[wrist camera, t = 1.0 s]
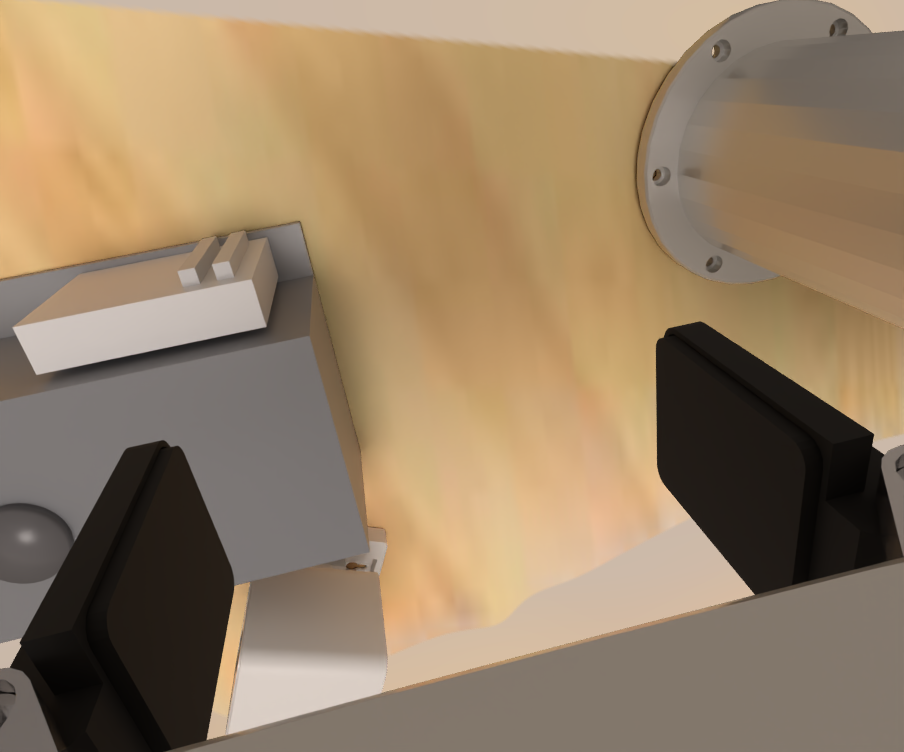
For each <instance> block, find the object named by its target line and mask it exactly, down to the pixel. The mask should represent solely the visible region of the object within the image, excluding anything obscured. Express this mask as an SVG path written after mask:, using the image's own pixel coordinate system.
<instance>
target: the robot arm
mask: <svg viewBox="0 0 904 752" xmlns="http://www.w3.org/2000/svg"><path fill="white" fill-rule="evenodd" d="M713 47H714V50H715V52H714V55H713V56H712V49H713ZM656 170H657V175H656V177H655V178H654V179H652V178H653V173H654V172H655V171H656ZM637 188H638V194H639V200H640V207H641V210H642V213H643V215H644V218H645V221H646V224H647V226H648V229H649V231H650V232H651V234H652V235H653V237H654V239H655V240H656V242H657V243H658V245H659V246H660V248H661V249H662V250H663V251H664V252H665V253H666V254H667V255H668V256H669V257H670V258H671V259H672V260H673V261H675V262H676V263H678V264H679V265H681V266H683V267H684V268H686V269H687V270H689V271H691V272H693V273H695V274H697V275H699V276H701V277H703V278H705V279H708V280H711V281H717V282H722V283H727V284H752V283H757V282H761V281H766V280H770V279H774V278H776V277H779V276H783V277H786V278H788V279H790V280H793V281H795V282H797V283H799V284H802V285H804V286H806V287H809V288H811V289H813V290H815V291H818V292H820V293H822V294H825V295H827V296H829V297H831V298H834V299H836V300H838V301H841V302H843V303H845V304H847V305H850V306H852V307H854V308H857V309H859V310H861V311H863V312H866V313H868V314H870V315H873V316H875V317H877V318H879V319H882V320H884V321H886V322H889V323H891V324H893V325H895V326H898V327H900V328H902V329H904V31H894V32H882V33H872V32H871V31H870V29H869V28H867V26H865V25H864V24H863V23H862V22H861V21H860V20H859V19H858V18H856V17H855V16H854V15H853V14H852V13H850V12H848V11H846V10H844V9H842V8H840V7H838V6H836V5H834V4H832V3H828V2H823V1H818V0H779V1H774V2H770V3H764V4H759V5H756V6H753V7H751V8H748V9H746V10H744V11H741V12H739V13H736V14H734V15H731V16H730V17H729V18H727V19H725V20H724V21H722V22H721V23H719V24H718V25H716V26H715V27H713V28H712V29H710V30H708V31H707V32H706V33H705V34H704V35H703V36H702V37H701V38H700V39H699V40H697V41H696V42H695V43H694V44H693V45H692V46H691V47H690V48H689V49H688V50H687V51H686V52H685V53H684V54H683V56H682V57H681V58H680V60H679V61H678V62H677V63H676V65H675V66H674V67H673V69H672V70H671V71H670V72H669V74H668V75H667V77H666V79H665V80H664V82H663V84H662V86H661V88H660V89H659V91H658V93H657V95H656V97H655V99H654V100H653V102H652V105H651V108H650V111H649V113H648V116H647V119H646V122H645V124H644V127H643V130H642V136H641V141H640V146H639V151H638V156H637ZM656 399H657V467H658V472H659V475H660V478H661V480H662V482H663V483H664V485H665V486H666V487H667V489H668V490H669V491H670V492H671V493H672V495H673V496H674V497H675V498H676V499H677V501H678V502H679V503H680V504H681V506H682V507H683V508H684V509H685V510H686V512H687V513H688V514H689V515H690V516H691V518H692V519H693V520H694V521H695V522H696V524H697V525H698V526H699V527H700V529H701V530H702V531H703V532H704V533H705V535H706V536H707V537H708V538H709V539H710V541H711V542H712V543H713V544H714V546H715V547H716V548H717V549H718V550H719V552H720V553H721V554H722V555H723V556H724V558H725V559H726V560H727V561H728V562H729V564H730V565H731V566H732V567H733V569H734V570H735V571H736V572H737V573H738V575H739V576H740V577H741V578H742V579H743V581H744V582H745V583H746V584H747V586H748V587H749V588H750V589H751V590H752V592H753V593H754V594H755V595H753V596H749V597H746V598H742V599H738V600H734V601H730V602H726V603H722V604H718V605H714V606H711V607H707V608H703V609H699V610H695V611H691V612H687V613H683V614H680V615H676V616H672V617H668V618H664V619H660V620H656V621H652V622H648V623H644V624H641V625H637V626H633V627H629V628H625V629H622V630H618V631H614V632H610V633H606V634H602V635H599V636H595V637H591V638H587V639H584V640H580V641H576V642H572V643H568V644H564V645H561V646H557V647H553V648H549V649H545V650H542V651H538V652H534V653H530V654H526V655H523V656H519V657H515V658H511V659H508V660H504V661H500V662H496V663H492V664H489V665H485V666H481V667H477V668H474V669H470V670H466V671H462V672H458V673H455V674H451V675H447V676H443V677H440V678H436V679H432V680H429V681H425V682H421V683H417V684H413V685H410V686H406V687H402V688H398V689H395V690H391V691H387V692H384V693H380V694H376V695H372V696H369V697H365V698H361V699H358V700H354V701H350V702H346V703H343V704H339V705H335V706H332V707H328V708H324V709H321V710H317V711H313V712H309V713H306V714H302V715H298V716H295V717H291V718H287V719H284V720H280V721H276V722H272V723H269V724H265V725H261V726H258V727H254V728H250V729H247V730H243V731H239V732H235V733H232V734H228V735H224V736H221V737H217V738H213V739H210V740H207V733H208V729H209V723H210V718H211V712H212V707H213V702H214V696H215V691H216V685H217V680H218V674H219V669H220V663H221V658H222V653H223V647H224V642H225V636H226V631H227V625H228V620H229V614H230V609H231V604H232V598H233V593H234V575H233V571H232V567H231V565H230V562H229V560H228V557H227V555H226V553H225V550H224V548H223V545H222V543H221V541H220V538H219V536H218V533H217V531H216V529H215V526H214V524H213V521H212V519H211V516H210V514H209V512H208V509H207V507H206V504H205V502H204V500H203V497H202V495H201V492H200V490H199V488H198V485H197V483H196V480H195V478H194V476H193V473H192V471H191V468H190V466H189V463H188V461H187V459H186V456H185V454H184V452H183V450H182V449H181V447H179V446H173V447H170V445H169V444H168V443H167V442H166V441H164V440H161V441H156V442H152V443H147V444H143V445H138V446H133V447H129V448H126V450H125V451H124V452H123V454H122V456H121V458H120V460H119V461H118V463H117V465H116V467H115V469H114V471H113V472H112V474H111V476H110V478H109V480H108V482H107V483H106V485H105V487H104V489H103V491H102V493H101V494H100V496H99V498H98V500H97V502H96V504H95V505H94V507H93V509H92V511H91V513H90V515H89V516H88V518H87V520H86V522H85V524H84V526H83V527H82V529H81V531H80V533H79V535H78V536H77V538H76V540H75V542H74V544H73V546H72V547H71V549H70V551H69V553H68V555H67V557H66V558H65V560H64V562H63V564H62V566H61V568H60V569H59V571H58V573H57V575H56V577H55V579H54V580H53V582H52V584H51V586H50V588H49V590H48V591H47V593H46V595H45V597H44V599H43V601H42V602H41V604H40V606H39V608H38V610H37V612H36V613H35V615H34V617H33V619H32V621H31V623H30V624H29V626H28V628H27V630H26V632H25V634H24V635H23V637H22V639H21V641H20V644H21V648H20V650H19V652H18V653H17V655H16V657H15V659H14V661H13V663H12V664H11V666H10V668H3V669H0V752H904V445H900V446H898V447H896V448H893V449H891V450H889V451H888V452H887V453H886V454H885V455H884V454H883V453H881V452H880V451H878V450H877V449H875V448H874V447H872V443H873V438H874V434H873V433H872V432H870V431H869V430H867V429H866V428H864V427H862V426H861V425H859V424H858V423H856V422H855V421H853V420H852V419H850V418H849V417H847V416H846V415H844V414H843V413H841V412H840V411H838V410H836V409H835V408H833V407H832V406H830V405H829V404H827V403H826V402H824V401H823V400H821V399H820V398H818V397H817V396H815V395H814V394H812V393H810V392H809V391H807V390H806V389H804V388H803V387H801V386H800V385H798V384H797V383H795V382H794V381H792V380H791V379H789V378H788V377H786V376H784V375H783V374H781V373H780V372H778V371H777V370H775V369H774V368H772V367H771V366H769V365H768V364H766V363H765V362H763V361H762V360H760V359H758V358H757V357H755V356H754V355H752V354H751V353H749V352H748V351H746V350H745V349H743V348H742V347H740V346H739V345H737V344H736V343H734V342H732V341H731V340H729V339H728V338H726V337H725V336H723V335H722V334H720V333H719V332H717V331H716V330H714V329H713V328H711V327H710V326H708V325H706V324H705V323H703V322H695V323H691V324H686V325H682V326H677V327H673V328H668V329H667V331H666V332H665V335H664V338H660V339H659V340H658V341H657V344H656Z"/></svg>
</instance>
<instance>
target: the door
mask: <svg viewBox="0 0 904 752" xmlns="http://www.w3.org/2000/svg"><path fill="white" fill-rule="evenodd" d="M277 280H278V273H277V269H276V266H275V262H274V259H273V256H272V252H271V249H270V245H269V242H268V238H267V237H265V238H260V239H255V240H250V241H248V238H247V235H246V232H245V230H244V231H239V232H234V233H231V234H230V235H229V237H228V239H227V240H226V242H225V243H224V245H223V246H220V245H219V242H218V239H217V236H214V237H208V238H203V239H201V241H200V242H199V243H198V245H197V246H196V247H195V249H194V250H193V251H192V252H188V253H183V254H178V255H173V256H168V257H163V258H158V259H153V260H148V261H142V262H137V263H132V264H127V265H122V266H117V267H112V268H107V269H102V270H96V271H91V272H86V273H81V274H79V275H77V276H76V277H75V278H74V279H72V280H71V281H70V282H69V283H67V284H66V285H65V286H64V287H62V288H61V289H60V290H59V291H57V292H56V293H55V294H54V295H52V296H51V297H50V298H49V299H47V300H46V301H45V302H44V303H42V304H41V305H40V306H39V307H37V308H36V309H35V310H34V311H32V312H31V313H30V314H29V315H27V316H26V317H25V318H24V319H22V320H21V321H20V322H19V323H17V324H16V325H15V326H14V327H12V328H13V330H14V332H15V334H16V336H17V338H18V340H19V342H20V344H21V346H22V348H23V350H24V352H25V353H26V355H27V357H28V359H29V361H30V363H31V365H32V367H33V369H34V371H35V373H36V375H39V374H43V373H48V372H53V371H58V370H62V369H67V368H72V367H77V366H82V365H86V364H91V363H96V362H101V361H106V360H110V359H115V358H120V357H125V356H129V355H134V354H139V353H144V352H149V351H153V350H158V349H163V348H168V347H172V346H177V345H182V344H187V343H192V342H196V341H201V340H206V339H211V338H216V337H220V336H225V335H230V334H235V333H239V332H244V331H249V330H254V329H259V328H263V327H267V323H268V318H269V314H270V310H271V306H272V301H273V297H274V293H275V289H276V285H277Z"/></svg>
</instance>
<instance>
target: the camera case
mask: <svg viewBox="0 0 904 752" xmlns="http://www.w3.org/2000/svg"><path fill="white" fill-rule="evenodd" d="M246 235H247V238H248V241H250V240H255V239H260V238H265V237H267V238H268V242H269V245H270V249H271V252H272V256H273V259H274V262H275V266H276V269H277V273H278V280H277V285H276V289H275V293H274V297H273V301H272V306H271V310H270V314H269V318H268V323H267V327H263V328H259V329H254V330H249V331H244V332H239V333H235V334H230V335H225V336H220V337H216V338H211V339H206V340H201V341H196V342H192V343H187V344H182V345H177V346H172V347H168V348H163V349H158V350H153V351H149V352H144V353H139V354H134V355H129V356H125V357H120V358H115V359H110V360H106V361H101V362H96V363H91V364H86V365H82V366H77V367H72V368H67V369H62V370H58V371H53V372H48V373H43V374H39V375H36V373H35V371H34V369H33V367H32V365H31V363H30V361H29V359H28V357H27V355H26V353H25V352H24V350H23V348H22V346H21V344H20V342H19V340H18V338H17V336H16V334H15V332H14V330H13V328H12V327H14V326H15V325H16V324H17V323H19V322H20V321H21V320H22V319H24V318H25V317H26V316H27V315H29V314H30V313H31V312H32V311H34V310H35V309H36V308H37V307H39V306H40V305H41V304H42V303H44V302H45V301H46V300H47V299H49V298H50V297H51V296H52V295H54V294H55V293H56V292H57V291H59V290H60V289H61V288H62V287H64V286H65V285H66V284H67V283H69V282H70V281H71V280H72V279H74V278H75V277H76V276H77V275H79V274H81V273H86V272H91V271H96V270H102V269H107V268H112V267H117V266H122V265H127V264H132V263H137V262H142V261H148V260H153V259H158V258H163V257H168V256H173V255H178V254H183V253H188V252H192V251H193V250H194V249H195V247H196V246H197V245H198V243H199V242H200V241H196V242H191V243H186V244H181V245H176V246H170V247H165V248H160V249H155V250H150V251H145V252H140V253H135V254H129V255H124V256H119V257H114V258H109V259H104V260H99V261H93V262H88V263H83V264H78V265H73V266H68V267H63V268H57V269H52V270H47V271H42V272H37V273H32V274H27V275H21V276H16V277H11V278H6V279H1V280H0V643H3V642H7V641H11V640H15V639H19V638H22V637H23V635H24V634H25V632H26V630H27V628H28V626H29V624H30V623H31V621H32V619H33V617H34V615H35V613H36V612H37V610H38V608H39V606H40V604H41V602H42V601H43V599H44V597H45V595H46V593H47V591H48V590H49V588H50V586H51V584H52V582H53V580H54V579H55V577H56V575H57V573H58V571H59V569H60V568H61V566H62V564H63V562H64V560H65V558H66V557H67V555H68V553H69V551H70V549H71V547H72V546H73V544H74V542H75V540H76V538H77V536H78V535H79V533H80V531H81V529H82V527H83V526H84V524H85V522H86V520H87V518H88V516H89V515H90V513H91V511H92V509H93V507H94V505H95V504H96V502H97V500H98V498H99V496H100V494H101V493H102V491H103V489H104V487H105V485H106V483H107V482H108V480H109V478H110V476H111V474H112V472H113V471H114V469H115V467H116V465H117V463H118V461H119V460H120V458H121V456H122V454H123V452H124V451H125V450H126V448H129V447H133V446H138V445H143V444H147V443H152V442H156V441H161V440H164V441H166V442H167V443H168V444H169V445H170V447H173V446H179V447H181V449H182V450H183V452H184V454H185V456H186V459H187V461H188V463H189V466H190V468H191V471H192V473H193V476H194V478H195V480H196V483H197V485H198V488H199V490H200V492H201V495H202V497H203V500H204V502H205V504H206V507H207V509H208V512H209V514H210V516H211V519H212V521H213V524H214V526H215V529H216V531H217V533H218V536H219V538H220V541H221V543H222V545H223V548H224V550H225V553H226V555H227V557H228V560H229V562H230V565H231V567H232V571H233V575H234V586H235V585H239V584H243V583H247V582H251V581H255V580H259V579H263V578H267V577H271V576H276V575H280V574H284V573H288V572H292V571H296V570H300V569H304V568H308V567H312V566H316V565H320V564H324V563H328V562H332V561H337V560H341V559H345V558H349V557H353V556H357V555H361V554H365V553H369V552H370V547H369V537H368V526H367V515H366V505H365V494H364V483H363V473H362V462H361V452H360V448H359V444H358V440H357V436H356V433H355V429H354V425H353V421H352V417H351V414H350V410H349V406H348V402H347V399H346V395H345V391H344V387H343V383H342V380H341V376H340V372H339V368H338V364H337V361H336V357H335V353H334V349H333V345H332V342H331V338H330V334H329V330H328V326H327V323H326V319H325V315H324V311H323V307H322V304H321V300H320V296H319V292H318V288H317V285H316V281H315V277H314V273H313V270H312V266H311V262H310V258H309V254H308V251H307V247H306V243H305V239H304V235H303V232H302V228H301V224H300V221H299V222H294V223H289V224H284V225H278V226H273V227H268V228H263V229H258V230H253V231H248V232H246ZM228 237H229V235H227V236H222V237H217V239H218V242H219V245H220V246H223V245H224V243H225V242H226V240H227V239H228Z"/></svg>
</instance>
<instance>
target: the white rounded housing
mask: <svg viewBox="0 0 904 752" xmlns="http://www.w3.org/2000/svg"><path fill="white" fill-rule="evenodd" d="M368 537H369V547H370V552H369V553H365V554H361V555H357V556H353V557H349V558H345V559H341V560H337V561H332V562H328V563H324V564H320V565H316V566H312V567H308V568H304V569H300V570H296V571H292V572H288V573H284V574H280V575H276V576H271V577H267V578H263V579H259V580H255V581H251V582H250V586H249V592H248V597H247V603H246V609H245V614H244V620H243V626H242V631H241V637H240V643H239V649H238V655H237V661H236V668H235V674H234V681H233V687H232V694H231V700H230V707H229V713H228V720H227V726H226V733H225V735H228V734H232V733H235V732H239V731H243V730H247V729H250V728H254V727H258V726H261V725H265V724H269V723H272V722H276V721H280V720H284V719H287V718H291V717H295V716H298V715H302V714H306V713H309V712H313V711H317V710H321V709H324V708H328V707H332V706H335V705H339V704H343V703H346V702H350V701H354V700H358V699H361V698H365V697H369V696H372V695H376V694H380V693H381V692H382V689H383V685H384V682H385V678H386V673H387V660H388V658H387V647H386V637H385V628H384V618H383V609H382V600H381V590H380V581H379V575H380V572H381V568H382V565H383V561H384V557H385V554H386V550H387V539H386V532H385V530H384V529H382V528H372V527H368ZM350 562H355V563H357V564H361V565H366V567H364V568H359V567H356V568H355V569H348V568H347V567H346V565H347V564H348V563H350Z"/></svg>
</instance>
